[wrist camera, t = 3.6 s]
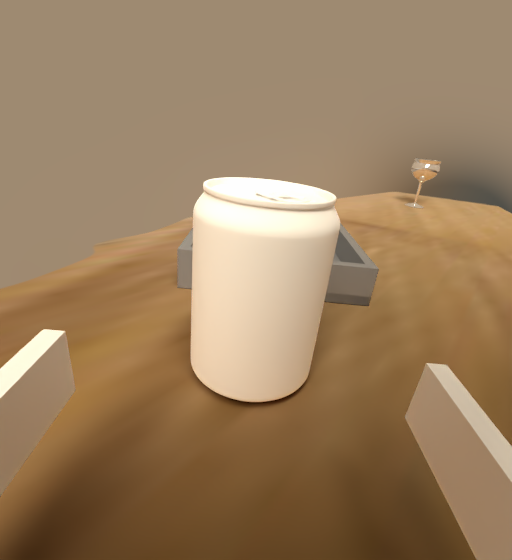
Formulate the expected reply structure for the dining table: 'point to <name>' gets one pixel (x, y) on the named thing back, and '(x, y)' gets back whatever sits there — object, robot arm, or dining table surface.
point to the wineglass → (423, 174)
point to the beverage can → (259, 284)
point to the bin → (343, 277)
